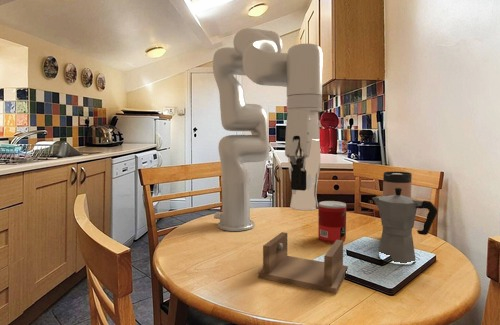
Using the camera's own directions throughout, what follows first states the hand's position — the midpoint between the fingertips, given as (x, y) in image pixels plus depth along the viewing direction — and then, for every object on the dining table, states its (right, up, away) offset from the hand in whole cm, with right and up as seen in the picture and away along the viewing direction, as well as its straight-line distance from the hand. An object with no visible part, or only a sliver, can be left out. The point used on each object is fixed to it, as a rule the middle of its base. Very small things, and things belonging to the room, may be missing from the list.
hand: (304, 186), depth 70 cm
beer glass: (0, -5, 0) cm, 5 cm away
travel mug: (+31, -18, +25) cm, 44 cm away
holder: (0, -20, +2) cm, 20 cm away
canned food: (+13, -18, +26) cm, 34 cm away
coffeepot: (+26, -19, +10) cm, 34 cm away
